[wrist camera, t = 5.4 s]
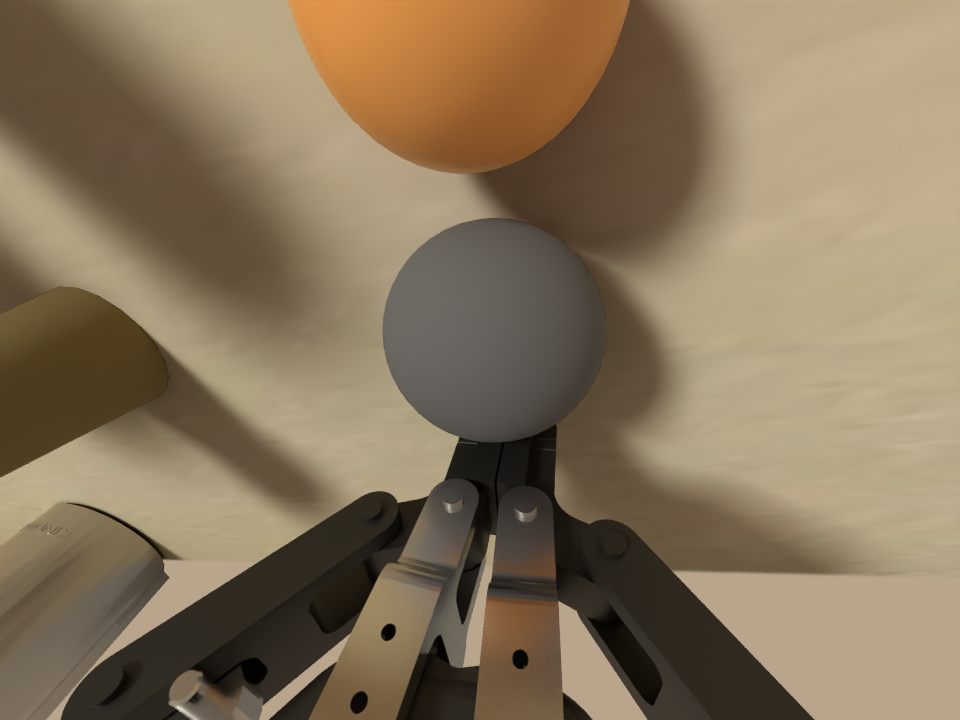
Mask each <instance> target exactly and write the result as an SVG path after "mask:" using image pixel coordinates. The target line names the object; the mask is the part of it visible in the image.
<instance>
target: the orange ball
mask: <svg viewBox="0 0 960 720" xmlns="http://www.w3.org/2000/svg"><path fill="white" fill-rule="evenodd" d="M288 2H289V5H290V8H291V11H292V14H293V17H294V20H295V23H296V26H297V28H298V31H299V34H300V36H301V39H302V41H303V43H304V45H305V47H306V49H307V51H308V53H309V55H310V57H311V59H312V61H313V63H314V65H315V67H316V69H317V71H318V73H319V75H320V77H321V78H322V80H323V81H324V83H325V84H326V86H327V87H328V89H329V90H330V92H331V93H332V95H333V96H334V97H335V99H336V100H337V101H338V103H339V104H340V106H341V107H342V108H343V109H344V110H345V111H346V113H347V114H348V115H349V116H350V117H351V118H352V120H353V121H354V122H355V123H356V124H358V125H359V126H360V127H361V128H362V129H363V130H364V131H365V132H366V133H367V134H368V135H370V136H371V137H372V138H373V139H374V140H375V141H376V142H378V143H379V144H381V145H382V146H384V147H385V148H387V149H388V150H390V151H391V152H393V153H394V154H396V155H398V156H399V157H401V158H403V159H405V160H408V161H410V162H412V163H414V164H416V165H419V166H423V167H426V168H429V169H433V170H437V171H441V172H449V173H456V174H465V173H479V172H486V171H492V170H495V169H498V168H501V167H505V166H508V165H510V164H512V163H515V162H517V161H519V160H521V159H523V158H526V157H527V156H529V155H530V154H532V153H534V152H535V151H537V150H538V149H540V148H542V147H543V146H544V145H545V144H547V143H548V142H549V141H550V140H552V139H553V138H554V137H555V136H557V135H558V134H559V133H560V132H561V131H562V130H563V129H564V128H565V127H566V126H567V125H568V124H569V123H570V122H571V121H572V120H573V118H574V117H575V116H576V114H577V113H578V112H579V111H580V109H581V108H582V107H583V105H584V104H585V103H586V102H587V100H588V98H589V97H590V95H591V93H592V92H593V90H594V88H595V87H596V85H597V84H598V82H599V80H600V79H601V77H602V75H603V73H604V71H605V69H606V67H607V65H608V63H609V61H610V59H611V56H612V54H613V52H614V50H615V47H616V44H617V41H618V38H619V36H620V33H621V30H622V27H623V24H624V21H625V17H626V14H627V11H628V7H629V2H630V0H288Z"/></svg>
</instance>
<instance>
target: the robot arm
mask: <svg viewBox="0 0 960 720" xmlns="http://www.w3.org/2000/svg"><path fill="white" fill-rule="evenodd" d="M556 438H557V426H556V424H555V425H553V426H552V427H550V428H548V429H546V430H544V431H542V432H540V433H538V434H536V435H533V436H530V437H527V438H523V439H520V440H516V441H509V442H480V441H473V440H468V439H464V438H461V437H459V440H458V443H457V446H456V449H455V452H454V454H453V457H452V460H451V463H450V466H449V469H448V472H447V475H446V478H445V480H444V481H443V482H441V483H439V484H438V485H437V486H436V487H434V489H433V490H432V491H431V493H430V494H429V496H427V497H424V498H422V499H417V500H412V501H406V502H401V503H397V500H396V499H395V497H394V496H393V495H391V494H390V493H387V492H383V491H377V492H371V493H368V494H366V495H364V496H362V497H360V498H359V499H357V500H355V501H354V502H352V503H351V504H349V505H348V506H346V507H344V508H343V509H341V510H340V511H338V512H337V513H335V514H333V515H332V516H330V517H329V518H327V519H326V520H324V521H322V522H321V523H319V524H318V525H316V526H315V527H313V528H311V529H310V530H308V531H307V532H305V533H304V534H302V535H300V536H299V537H297V538H296V539H294V540H293V541H291V542H289V543H288V544H286V545H285V546H283V547H282V548H280V549H278V550H277V551H275V552H274V553H272V554H271V555H269V556H267V557H266V558H264V559H263V560H261V561H260V562H258V563H256V564H255V565H253V566H252V567H250V568H249V569H247V570H245V571H244V572H242V573H241V574H239V575H238V576H236V577H234V578H233V579H231V580H230V581H229V582H227V583H225V584H224V585H222V586H220V587H219V588H217V589H216V590H214V591H212V592H211V593H209V594H208V595H206V596H205V597H203V598H201V599H200V600H198V601H197V602H195V603H193V604H192V605H191V606H189V607H187V608H186V609H184V610H182V611H181V612H180V613H178V614H176V615H175V616H173V617H171V618H170V619H169V620H167V621H166V622H164V623H162V624H161V625H159V626H157V627H156V628H154V629H153V630H151V631H149V632H148V633H146V634H145V635H143V636H142V637H140V638H138V639H137V640H135V641H134V642H132V643H131V644H129V645H127V646H126V647H124V648H123V649H121V650H120V651H118V652H116V653H115V654H113V655H112V656H110V657H109V658H107V659H106V660H105V661H103V662H102V663H100V664H99V665H98V666H97V667H95V669H94V670H92V671H91V672H90V673H89V674H88V675H87V676H86V677H85V678H84V679H83V680H82V682H81V683H80V684H79V685H78V687H77V688H76V689H75V691H74V692H73V694H72V695H71V697H70V698H69V700H68V702H67V704H66V706H65V708H64V710H63V713H62V717H61V720H259V718H260V715H261V711H262V706H263V705H264V704H265V703H266V702H268V701H269V700H270V699H271V698H272V697H274V696H275V695H276V694H277V693H279V692H280V691H281V690H282V689H283V688H285V687H286V686H287V685H288V684H289V683H291V682H292V681H293V680H294V679H295V678H297V677H298V676H299V675H300V674H301V673H303V672H304V671H305V670H306V669H308V668H309V667H310V666H311V665H312V664H314V663H315V662H316V661H317V660H318V659H320V658H321V657H322V656H323V655H325V654H326V653H327V652H328V651H329V650H331V649H332V648H333V647H334V646H335V645H337V644H338V643H339V642H340V641H342V640H343V639H344V638H345V637H346V636H347V635H349V634H350V633H351V634H350V636H349V638H348V640H347V642H346V644H345V646H344V649H343V650H342V653H341V655H340V657H339V659H338V661H337V662H336V663H334V664H333V665H331V666H330V667H328V668H327V669H326V670H324V671H323V672H322V673H321V674H319V675H318V676H317V677H316V678H315V679H314V680H313V681H312V682H310V683H309V684H308V685H307V686H306V687H305V688H304V689H303V690H301V691H300V692H299V693H298V694H297V695H296V696H295V697H294V698H293V699H292V700H290V701H289V702H288V703H287V704H286V705H285V706H284V707H282V708H281V709H280V710H279V711H278V712H277V713H276V714H275V715H274V716H273V717H271V718H270V719H269V720H592V719H591V718H590V716H589V715H588V714H587V713H586V712H585V710H583V709H582V708H581V707H580V706H579V705H578V704H577V703H576V702H575V701H574V700H572V699H571V698H570V697H569V696H567V695H566V694H565V693H563V692H562V671H561V650H560V629H559V606H558V601H560V602H562V603H564V604H565V605H567V606H569V607H571V608H573V609H574V610H576V611H577V613H578V615H579V617H580V619H581V620H582V622H583V624H584V625H585V627H586V628H587V630H588V631H589V633H590V634H591V636H592V637H593V639H594V640H595V642H596V643H597V645H598V646H599V647H600V649H601V651H602V652H603V654H604V655H605V657H606V658H607V660H608V661H609V662H610V664H611V666H612V667H613V668H614V670H615V672H616V673H617V675H618V676H619V677H620V679H621V680H622V682H623V684H624V685H625V686H626V688H627V689H628V691H629V692H630V694H631V696H632V697H633V699H634V700H635V702H636V703H637V705H638V706H639V707H640V709H641V710H642V712H643V713H644V715H645V716H646V718H647V719H648V720H814V719H813V718H812V717H811V716H810V715H809V714H808V713H807V712H806V710H805V709H803V707H802V706H801V705H800V704H799V703H798V702H797V701H796V700H795V699H794V698H793V697H792V696H791V695H790V694H789V693H788V692H787V691H786V690H785V689H784V687H783V686H782V685H781V684H780V683H779V682H778V681H777V680H776V679H775V678H774V677H773V676H772V675H771V674H770V673H769V672H768V671H767V670H766V669H765V668H764V667H763V666H762V665H761V663H759V661H758V660H757V659H755V657H754V656H753V655H752V654H751V653H750V652H749V651H748V650H747V649H746V648H745V647H744V646H743V645H742V644H741V643H740V642H739V641H738V640H737V638H736V637H735V636H734V635H733V634H732V633H731V632H730V631H729V630H728V629H727V628H726V627H725V626H724V625H723V624H722V623H721V622H720V621H719V620H718V619H717V618H716V617H715V615H714V614H713V613H712V612H711V611H710V610H709V609H708V608H707V607H706V606H705V605H704V604H703V603H702V602H701V601H700V600H699V599H698V598H697V597H696V596H695V595H694V594H693V593H692V592H691V590H690V589H689V588H688V587H687V586H686V585H685V584H684V583H683V582H682V581H681V580H680V579H679V578H678V577H677V576H676V575H675V574H674V573H673V572H672V571H671V570H670V569H669V568H668V566H667V565H666V564H665V563H664V562H663V561H662V560H661V559H660V558H659V557H658V556H657V555H656V554H655V553H654V552H653V551H652V550H651V549H650V548H649V547H648V546H647V545H646V544H645V542H644V541H643V540H642V539H641V538H640V537H639V536H638V535H637V534H636V533H635V532H634V531H633V530H632V529H630V528H629V527H628V526H626V525H624V524H622V523H620V522H617V521H614V520H598V521H595V522H593V523H591V524H590V525H589V524H587V523H585V522H582V521H580V520H578V519H576V518H574V517H572V516H570V515H569V514H567V513H566V512H565V511H564V510H563V509H562V508H561V507H560V506H559V504H558V503H557V501H556V498H555V495H554V489H555V466H556ZM490 534H491V535H496V541H495V551H494V562H493V572H492V579H491V582H490V583H489V586H488V591H487V598H486V608H485V618H484V628H483V638H482V647H481V657H480V666H473V667H464V668H463V663H464V658H465V650H466V638H467V631H468V627H469V623H470V619H471V615H472V612H473V608H474V604H475V600H476V597H477V593H478V589H479V586H480V582H481V578H482V575H483V571H484V567H485V563H486V552H487V547H488V542H489V537H490ZM168 579H169V577H168V575H166V573H165V572H164V563H163V560H162V558H161V557H160V555H159V554H158V552H157V551H156V550H155V549H154V548H153V547H152V546H151V545H150V544H149V543H147V542H146V541H145V540H144V539H143V538H142V537H140V536H139V535H137V534H136V533H135V532H133V531H132V530H130V529H129V528H127V527H125V526H124V525H122V524H120V523H119V522H117V521H115V520H113V519H111V518H109V517H107V516H105V515H103V514H100V513H98V512H96V511H93V510H90V509H87V508H84V507H81V506H77V505H72V504H57V505H54V506H53V507H52V508H51V509H49V510H48V511H47V512H45V513H44V514H42V515H41V516H40V517H38V518H37V519H36V520H34V521H33V522H32V523H30V524H28V525H26V526H25V527H24V528H22V529H21V530H20V532H18V533H17V534H16V535H14V536H13V537H12V538H10V539H9V540H8V541H6V542H5V543H4V544H2V545H1V546H0V720H46V719H47V718H48V717H49V716H50V714H51V713H52V712H53V711H54V710H55V709H56V708H57V706H58V705H59V704H60V703H61V702H62V701H63V699H64V698H65V697H66V696H67V695H68V693H70V691H71V690H72V689H73V688H74V687H75V686H76V685H77V683H78V682H79V681H80V680H81V679H82V678H83V676H84V675H85V674H86V673H87V672H88V671H89V669H90V668H91V667H92V666H93V665H94V664H95V663H96V662H97V660H98V659H99V658H100V657H101V656H102V655H103V653H104V652H105V651H106V650H107V649H108V648H109V647H110V645H111V644H112V643H113V642H114V640H116V638H117V637H118V636H119V635H120V634H121V633H122V631H123V630H124V629H125V628H126V627H127V626H128V625H129V624H130V622H131V621H132V620H133V619H134V618H135V617H136V615H137V614H138V613H139V612H140V611H141V610H142V609H143V607H144V606H145V605H146V604H147V603H148V602H149V600H150V599H151V598H152V597H153V596H154V595H155V594H156V592H157V591H158V590H159V589H160V588H161V587H162V585H163V584H164V583H165V582H166V581H167V580H168Z"/></svg>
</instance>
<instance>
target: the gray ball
mask: <svg viewBox="0 0 960 720" xmlns="http://www.w3.org/2000/svg"><path fill="white" fill-rule="evenodd" d="M383 341H384V350H385V354H386V359H387V363H388V366H389V369H390V372H391V374H392V377H393V379H394V381H395V383H396V384H397V386H398V388H399V390H400V391H401V393H402V394H403V396H404V397H405V398H406V400H407V401H408V402H409V403H410V404H411V405H412V407H413V408H414V409H415V410H416V411H417V412H418V413H419V414H420V415H422V416H423V417H424V418H425V419H427V420H428V421H429V422H430V423H432V424H433V425H435V426H437V427H439V428H440V429H442V430H444V431H446V432H448V433H450V434H453V435H456V436H459V437H461V438H464V439H468V440H473V441H480V442H509V441H516V440H520V439H523V438H527V437H530V436H533V435H536V434H538V433H540V432H542V431H544V430H546V429H548V428H550V427H552V426H553V425H555V424H556V423H558V422H559V421H561V420H562V419H563V418H565V417H566V416H567V415H568V414H569V413H570V412H571V411H572V410H573V409H575V408H576V406H577V405H578V404H579V403H580V401H581V400H582V399H583V398H584V397H585V395H586V394H587V392H588V390H589V389H590V387H591V385H592V384H593V382H594V380H595V378H596V375H597V373H598V371H599V369H600V366H601V362H602V358H603V355H604V350H605V342H606V318H605V311H604V305H603V302H602V298H601V295H600V291H599V289H598V287H597V285H596V282H595V280H594V278H593V276H592V275H591V273H590V271H589V270H588V268H587V267H586V265H585V264H584V263H583V261H582V260H581V259H580V258H579V257H578V255H577V254H576V253H575V252H574V251H573V250H572V249H571V248H570V247H568V246H567V245H566V244H565V243H564V242H563V241H561V240H560V239H558V238H557V237H555V236H554V235H552V234H551V233H549V232H547V231H545V230H543V229H541V228H539V227H536V226H534V225H532V224H528V223H524V222H520V221H516V220H511V219H501V218H488V219H479V220H474V221H469V222H465V223H461V224H458V225H456V226H453V227H451V228H449V229H446V230H444V231H442V232H441V233H439V234H437V235H436V236H434V237H432V238H431V239H429V240H428V241H427V242H426V243H424V244H423V245H422V246H421V247H420V248H418V249H417V250H416V251H415V252H414V254H413V255H412V256H411V257H410V258H409V259H408V260H407V262H406V263H405V264H404V266H403V267H402V269H401V270H400V272H399V273H398V275H397V277H396V279H395V281H394V283H393V285H392V287H391V290H390V293H389V296H388V299H387V302H386V307H385V312H384V319H383Z"/></svg>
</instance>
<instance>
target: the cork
mask: <svg viewBox="0 0 960 720" xmlns="http://www.w3.org/2000/svg"><path fill="white" fill-rule="evenodd" d="M167 383H168V374H167V369H166V365H165V362H164V360H163V358H162V356H161V355H160V353H159V351H158V349H157V347H156V346H155V344H154V343H153V342H152V341H151V339H150V338H149V337H148V336H147V335H146V333H145V332H144V331H143V330H142V329H141V327H140V326H139V325H137V324H136V323H135V322H134V321H133V320H132V319H131V318H129V317H128V316H127V315H126V314H125V313H124V312H122V311H121V310H120V309H119V308H117V307H115V306H114V305H112V304H110V303H109V302H107V301H106V300H104V299H102V298H101V297H99V296H97V295H94V294H92V293H89V292H86V291H84V290H81V289H78V288H71V287H57V288H55V289H52V290H50V291H47V292H45V293H43V294H41V295H39V296H37V297H35V298H33V299H31V300H29V301H27V302H25V303H23V304H20V305H18V306H16V307H14V308H12V309H10V310H8V311H6V312H4V313H2V314H0V477H2V476H4V475H6V474H8V473H10V472H12V471H14V470H16V469H18V468H20V467H22V466H24V465H26V464H28V463H30V462H32V461H34V460H35V459H37V458H39V457H41V456H43V455H45V454H47V453H49V452H51V451H53V450H55V449H57V448H59V447H61V446H63V445H65V444H67V443H69V442H71V441H73V440H74V439H76V438H78V437H80V436H82V435H84V434H86V433H88V432H90V431H92V430H94V429H96V428H98V427H100V426H102V425H104V424H106V423H108V422H110V421H112V420H114V419H115V418H117V417H119V416H121V415H123V414H125V413H127V412H129V411H131V410H133V409H135V408H137V407H139V406H141V405H143V404H145V403H147V402H149V401H151V400H153V399H154V398H156V397H158V396H159V395H161V394H162V393H163V392H164V391H165V390H166V387H167Z"/></svg>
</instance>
